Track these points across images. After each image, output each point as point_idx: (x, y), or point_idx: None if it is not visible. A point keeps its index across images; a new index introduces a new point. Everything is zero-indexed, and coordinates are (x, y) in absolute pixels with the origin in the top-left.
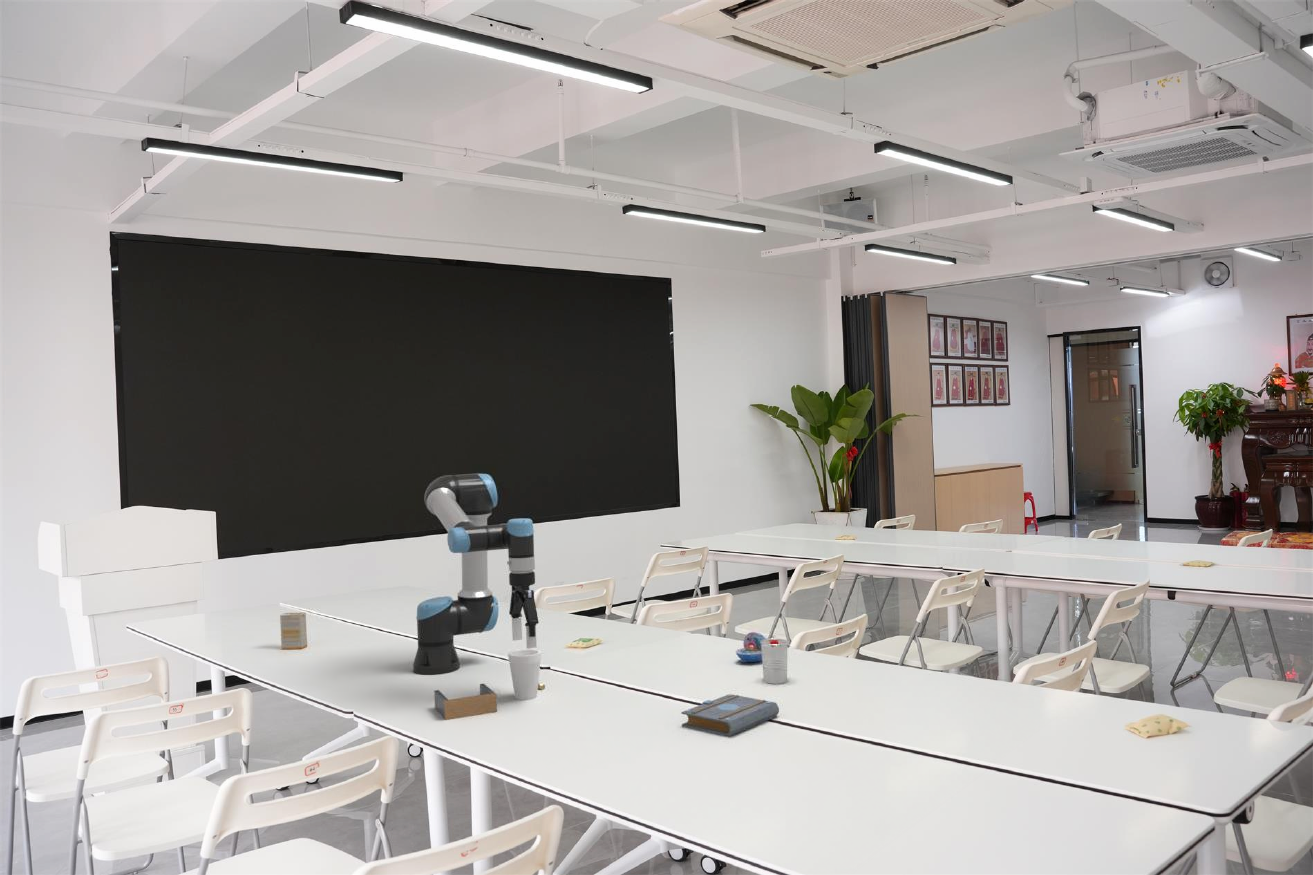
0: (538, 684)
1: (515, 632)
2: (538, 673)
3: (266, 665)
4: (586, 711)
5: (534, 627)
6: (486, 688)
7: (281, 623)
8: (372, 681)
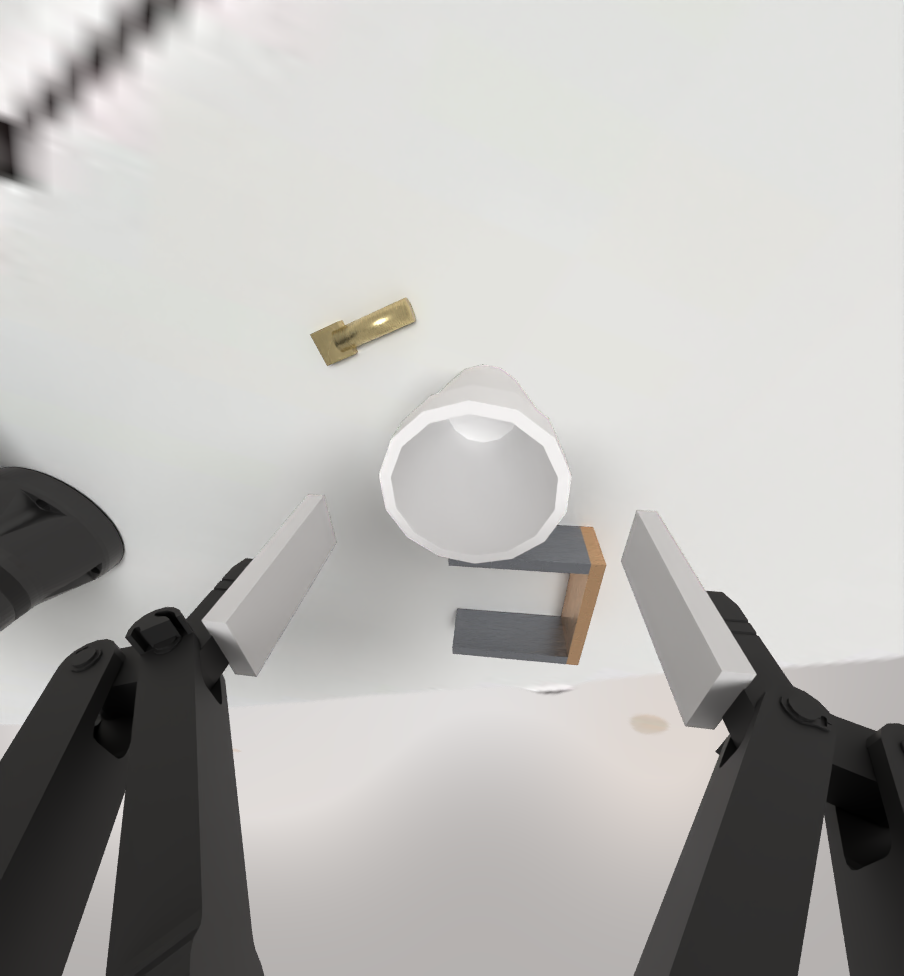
0: (390, 326)
1: (309, 567)
2: (516, 389)
3: None
4: (895, 246)
5: (780, 677)
6: (517, 566)
7: None
8: None
